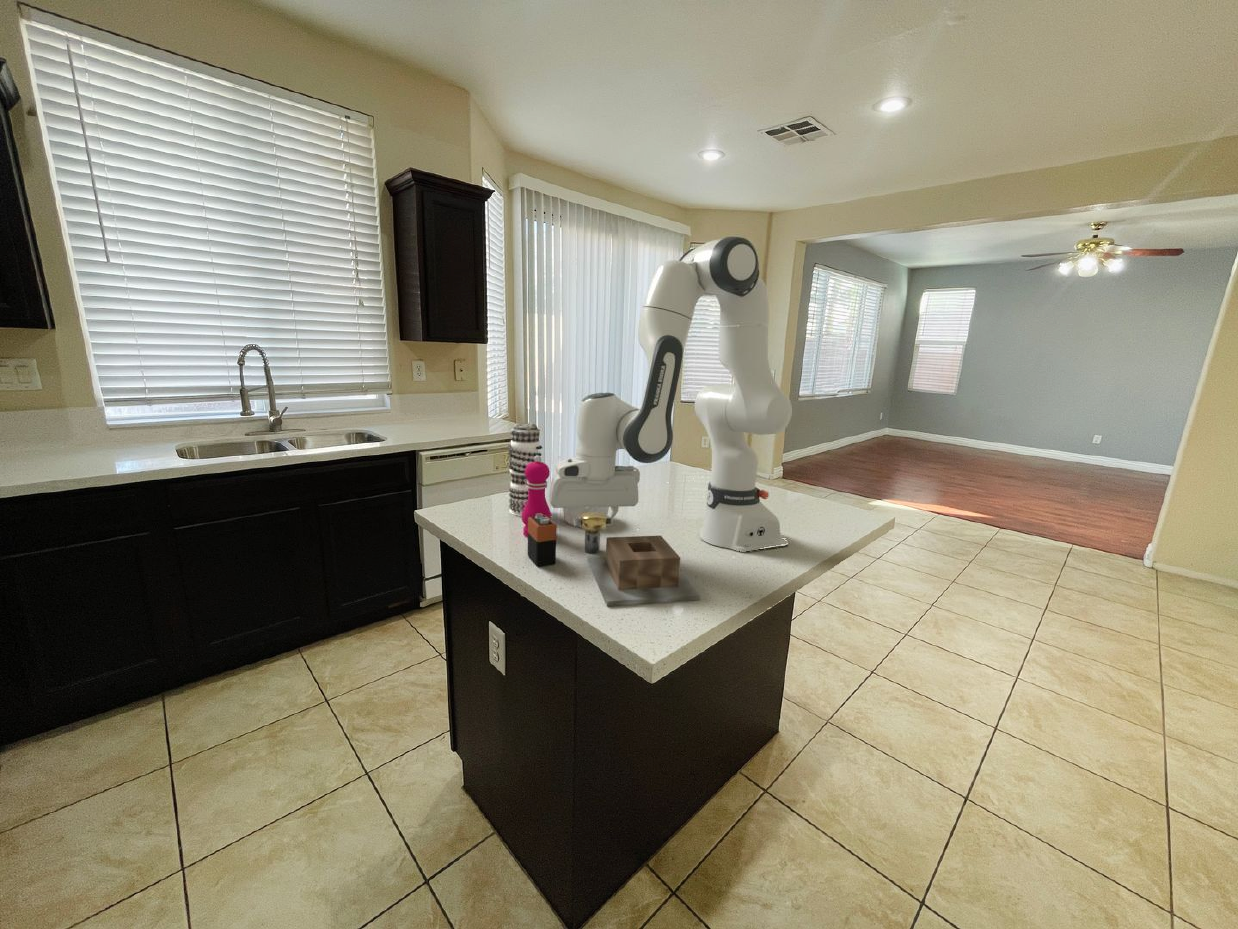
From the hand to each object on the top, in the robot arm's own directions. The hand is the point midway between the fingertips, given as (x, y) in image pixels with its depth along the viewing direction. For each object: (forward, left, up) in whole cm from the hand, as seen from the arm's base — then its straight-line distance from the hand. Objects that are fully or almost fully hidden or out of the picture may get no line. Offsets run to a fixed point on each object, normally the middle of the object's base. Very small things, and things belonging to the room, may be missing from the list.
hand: (593, 524), depth 112 cm
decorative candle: (+14, -30, -6) cm, 34 cm away
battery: (+12, +4, -7) cm, 14 cm away
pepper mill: (+12, -12, -6) cm, 18 cm away
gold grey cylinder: (0, 0, -6) cm, 6 cm away
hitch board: (-7, +16, -6) cm, 19 cm away
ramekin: (-2, -21, -7) cm, 22 cm away
